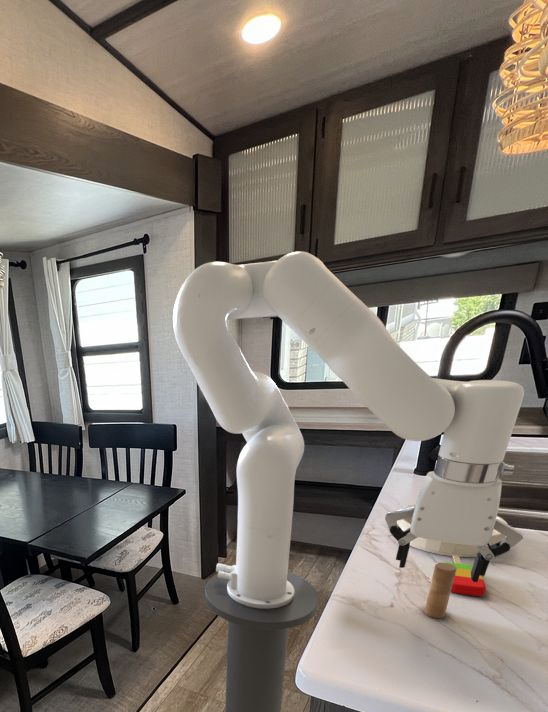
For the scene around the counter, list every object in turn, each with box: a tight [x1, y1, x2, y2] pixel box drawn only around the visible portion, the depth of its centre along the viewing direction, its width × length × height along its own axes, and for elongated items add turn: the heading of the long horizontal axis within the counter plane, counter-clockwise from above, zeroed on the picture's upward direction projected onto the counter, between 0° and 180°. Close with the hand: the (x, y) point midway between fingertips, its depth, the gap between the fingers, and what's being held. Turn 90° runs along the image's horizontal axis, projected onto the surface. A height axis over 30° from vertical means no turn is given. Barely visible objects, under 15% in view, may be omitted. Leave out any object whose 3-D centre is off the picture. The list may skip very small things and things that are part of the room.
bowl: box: [397, 503, 508, 558], centre depth 102 cm, size 19×19×4 cm
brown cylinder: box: [424, 562, 457, 619], centre depth 76 cm, size 3×3×9 cm
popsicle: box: [442, 554, 487, 597], centre depth 88 cm, size 6×15×2 cm, turn 151°
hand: (436, 570), depth 75 cm, fingers open, 9 cm apart
